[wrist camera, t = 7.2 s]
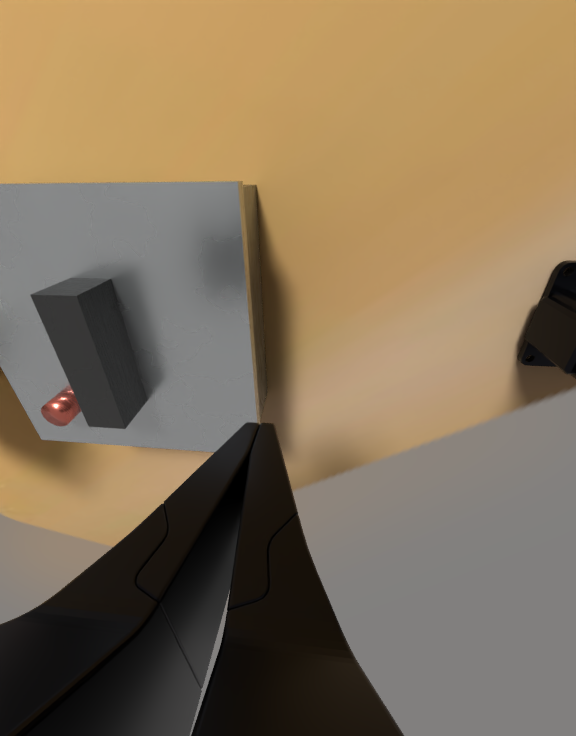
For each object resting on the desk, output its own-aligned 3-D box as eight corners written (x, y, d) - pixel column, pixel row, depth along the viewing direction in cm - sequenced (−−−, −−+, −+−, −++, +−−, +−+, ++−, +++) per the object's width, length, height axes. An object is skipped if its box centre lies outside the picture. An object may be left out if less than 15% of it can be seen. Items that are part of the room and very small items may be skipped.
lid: (242, 180, 13) (219, 183, 10) (261, 445, 20) (252, 487, 18) (-81, 184, 14) (-178, 187, 11) (50, 431, 22) (11, 468, 19)
